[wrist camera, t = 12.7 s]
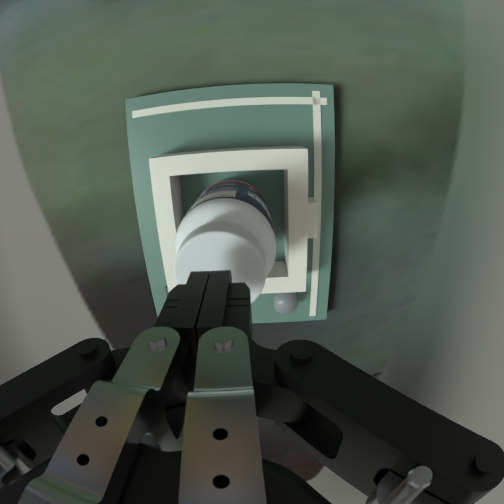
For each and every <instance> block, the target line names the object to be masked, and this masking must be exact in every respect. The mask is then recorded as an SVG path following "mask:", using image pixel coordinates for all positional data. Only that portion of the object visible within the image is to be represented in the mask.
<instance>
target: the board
mask: <svg viewBox="0 0 504 504" xmlns="http://www.w3.org/2000/svg"><path fill="white" fill-rule="evenodd" d="M125 102H126V119H127V132H128V144H129V154H130V164H131V172H132V181H133V188H134V196H135V203H136V210H137V216H138V222H139V229H140V234H141V240H142V246H143V251H144V256H145V262H146V267H147V272H148V276H149V281H150V286H151V290H152V295H153V299H154V304H155V308H156V312H157V316H159V314H160V312H161V309H162V308H163V305H164V303H165V301H166V298H167V296H168V294H169V292H170V291H171V290H172V289H173V288H174V287H175V286H177V284H176V281H175V278H174V262H175V258H176V255H175V237H176V233H177V230H178V227H179V225H180V223H181V221H182V219H183V218H184V217H185V215H186V214H187V212H188V211H189V209H190V208H191V207H192V205H193V204H194V203H195V202H196V200H197V199H198V198H199V196H200V195H201V194H202V193H203V192H204V191H205V190H206V189H207V188H209V187H210V186H212V185H213V184H215V183H218V182H221V181H226V180H237V181H242V182H245V183H248V184H250V185H252V186H253V187H255V188H256V189H257V190H258V191H259V192H260V193H261V194H262V195H263V196H264V198H265V199H266V201H267V203H268V206H269V209H270V213H271V219H272V224H273V229H274V233H275V238H276V258H275V262H274V265H273V267H272V269H271V271H270V273H269V275H268V276H267V277H266V280H265V284H264V287H263V290H262V292H261V293H260V295H259V296H258V298H257V299H256V300H255V301H254V302H253V303H251V313H252V323H273V322H292V321H308V320H323V319H326V316H327V306H328V295H329V284H330V271H331V257H332V240H333V219H334V188H335V122H334V92H333V85H326V84H299V83H269V84H242V85H226V86H214V87H203V88H194V89H186V90H178V91H171V92H165V93H158V94H152V95H147V96H141V97H136V98H131V99H126V100H125Z"/></svg>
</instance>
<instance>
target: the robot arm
mask: <svg viewBox="0 0 504 504" xmlns="http://www.w3.org/2000/svg"><path fill="white" fill-rule="evenodd" d="M83 389H85V391H86V393H87V395H86V397H85V399H84V400H83V402H82V404H80V405H78V406H77V407H75V408H73V409H71V410H70V411H68V412H66V413H65V414H63V415H59V416H57V415H54V414H52V413H51V409H52V408H53V407H54V406H55V405H57V404H59V403H60V402H62V401H64V400H65V399H67V398H69V397H71V396H72V395H74V394H76V393H77V392H79V391H81V390H83ZM257 416H258V417H262V418H267V419H271V420H274V421H275V423H276V425H277V426H278V427H279V428H280V429H281V430H282V431H283V432H284V433H285V434H287V435H288V436H289V437H290V438H291V439H292V440H294V441H295V442H296V443H297V444H298V445H300V446H301V447H302V448H303V449H305V450H306V451H307V452H308V453H310V454H311V455H312V456H313V457H315V458H316V459H317V460H318V461H320V462H321V463H322V464H324V465H325V466H326V467H328V468H329V469H330V470H331V471H333V472H334V473H336V474H337V475H338V476H340V477H341V478H342V479H344V480H345V481H346V482H348V483H349V484H351V485H352V486H353V487H355V488H356V489H358V490H359V491H361V492H362V493H364V494H365V495H367V496H368V498H367V500H366V503H365V504H474V503H475V502H477V501H478V500H479V499H481V498H482V497H483V496H485V495H486V494H487V493H488V492H490V491H491V490H492V489H493V488H495V487H496V486H497V485H498V484H499V483H500V482H501V481H502V479H503V478H504V452H503V450H502V449H501V448H500V446H498V445H497V444H496V443H494V442H492V441H490V440H488V439H486V438H484V437H482V436H480V435H478V434H476V433H474V432H473V431H471V430H469V429H467V428H465V427H463V426H461V425H459V424H457V423H455V422H453V421H451V420H449V419H448V418H446V417H444V416H442V415H440V414H438V413H436V412H435V411H433V410H431V409H429V408H427V407H425V406H423V405H421V404H420V403H418V402H416V401H415V400H413V399H411V398H409V397H407V396H406V395H404V394H402V393H400V392H399V391H397V390H395V389H393V388H391V387H390V386H388V385H386V384H385V383H383V382H381V381H379V380H378V379H376V378H374V377H372V376H371V375H369V374H367V373H366V372H364V371H362V370H360V369H359V368H357V367H355V366H354V365H352V364H350V363H349V362H347V361H345V360H344V359H342V358H340V357H339V356H337V355H335V354H334V353H332V352H330V351H329V350H327V349H326V348H324V347H322V346H321V345H319V344H317V343H315V342H312V341H308V340H293V341H289V342H286V343H284V344H283V345H281V346H280V347H279V348H278V349H277V350H272V349H268V348H264V347H261V346H260V345H258V344H256V343H255V342H254V341H253V340H252V313H251V295H250V289H249V287H248V286H247V285H246V284H245V282H241V283H232V275H231V270H218V271H211V272H210V271H191V272H190V275H189V277H188V280H187V282H186V284H178V285H177V286H175V287H174V288H173V289H172V290H171V291H170V292H169V294H168V296H167V298H166V301H165V303H164V305H163V308H162V309H161V312H160V314H159V316H158V318H157V321H156V323H155V325H154V328H150V329H148V330H145V331H144V332H142V333H141V334H140V335H138V337H137V338H136V339H135V341H134V343H133V345H132V346H131V347H129V348H124V349H118V350H112V351H111V349H110V347H109V344H108V343H107V342H106V341H105V340H103V339H100V338H90V339H86V340H83V341H81V342H79V343H77V344H75V345H73V346H72V347H70V348H68V349H66V350H64V351H62V352H61V353H59V354H57V355H55V356H53V357H51V358H49V359H48V360H46V361H44V362H42V363H40V364H39V365H37V366H35V367H33V368H31V369H29V370H28V371H26V372H24V373H22V374H20V375H18V376H16V377H15V378H13V379H11V380H9V381H7V382H6V383H4V384H2V385H0V504H331V503H330V502H329V501H328V500H327V499H325V498H324V497H323V496H322V495H320V494H319V493H318V492H317V491H316V490H314V489H313V488H312V487H311V486H310V485H309V484H308V483H307V482H306V481H305V480H303V479H302V478H301V477H300V476H298V475H297V474H295V473H294V472H292V471H291V470H289V469H287V468H285V467H284V466H282V465H279V464H277V463H274V462H271V461H268V460H265V459H261V451H260V442H259V433H258V424H257Z"/></svg>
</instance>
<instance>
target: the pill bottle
mask: <svg viewBox="0 0 504 504" xmlns="http://www.w3.org/2000/svg"><path fill="white" fill-rule="evenodd" d="M175 255H176V258H175V262H174V278H175V281H176V284H177V285H178V284H186V282H187V280H188V277H189V275H190V272H191V271H210V272H211V271H218V270H231V275H232V283H241V282H245V284H246V285H247V286H248V287H249V289H250V295H251V303H253V302H254V301H255V300H256V299H257V298H258V296H259V295H260V293H261V292H262V290H263V287H264V284H265V280H266V277H267V276H268V275H269V273H270V271H271V269H272V267H273V265H274V262H275V258H276V238H275V233H274V229H273V224H272V219H271V213H270V209H269V206H268V203H267V201H266V199H265V198H264V196H263V195H262V194H261V193H260V192H259V191H258V190H257V189H256V188H255V187H253V186H252V185H250V184H248V183H245V182H242V181H237V180H226V181H221V182H218V183H215V184H213V185H212V186H210V187H209V188H207V189H206V190H205V191H204V192H203V193H202V194H201V195H200V196H199V198H198V199H197V200H196V202H195V203H194V204H193V205H192V207H191V208H190V209H189V211H188V212H187V214H186V215H185V217H184V218H183V219H182V221H181V223H180V225H179V227H178V230H177V233H176V237H175Z"/></svg>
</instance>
